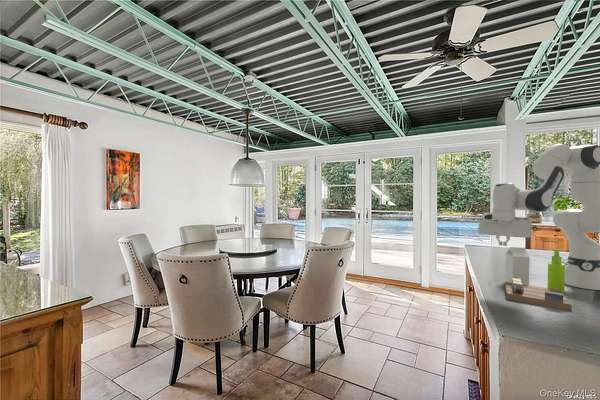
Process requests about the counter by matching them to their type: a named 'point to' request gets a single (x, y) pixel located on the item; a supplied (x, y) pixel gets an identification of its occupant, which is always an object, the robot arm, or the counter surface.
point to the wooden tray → (539, 296)
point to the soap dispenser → (556, 272)
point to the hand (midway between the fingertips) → (502, 245)
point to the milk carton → (517, 265)
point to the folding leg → (517, 285)
